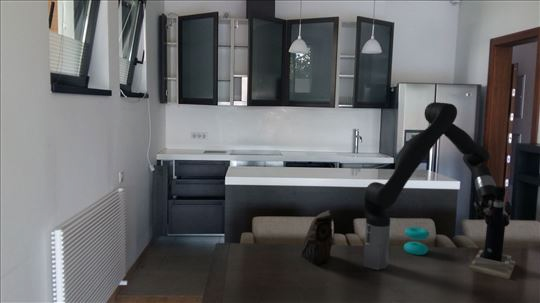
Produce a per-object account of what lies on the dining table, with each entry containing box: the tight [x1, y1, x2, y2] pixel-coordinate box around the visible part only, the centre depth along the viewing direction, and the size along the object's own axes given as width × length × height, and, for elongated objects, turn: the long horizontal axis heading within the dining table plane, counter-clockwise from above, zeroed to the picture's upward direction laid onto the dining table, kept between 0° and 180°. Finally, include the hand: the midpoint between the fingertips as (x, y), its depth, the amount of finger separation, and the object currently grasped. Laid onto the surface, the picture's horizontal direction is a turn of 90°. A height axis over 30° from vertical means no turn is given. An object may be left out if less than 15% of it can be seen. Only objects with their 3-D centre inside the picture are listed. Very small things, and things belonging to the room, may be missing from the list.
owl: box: [300, 209, 334, 266], centre depth 173 cm, size 13×13×20 cm
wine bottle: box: [483, 185, 506, 262], centre depth 169 cm, size 6×6×30 cm
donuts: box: [403, 226, 430, 256], centre depth 186 cm, size 10×10×10 cm
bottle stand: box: [468, 249, 516, 280], centre depth 171 cm, size 18×14×4 cm
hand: (498, 225), depth 167 cm, fingers closed on wine bottle, 6 cm apart
